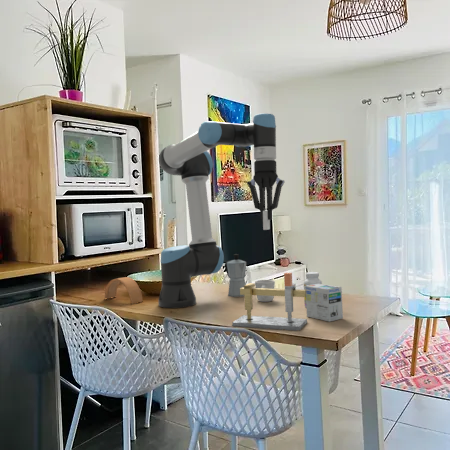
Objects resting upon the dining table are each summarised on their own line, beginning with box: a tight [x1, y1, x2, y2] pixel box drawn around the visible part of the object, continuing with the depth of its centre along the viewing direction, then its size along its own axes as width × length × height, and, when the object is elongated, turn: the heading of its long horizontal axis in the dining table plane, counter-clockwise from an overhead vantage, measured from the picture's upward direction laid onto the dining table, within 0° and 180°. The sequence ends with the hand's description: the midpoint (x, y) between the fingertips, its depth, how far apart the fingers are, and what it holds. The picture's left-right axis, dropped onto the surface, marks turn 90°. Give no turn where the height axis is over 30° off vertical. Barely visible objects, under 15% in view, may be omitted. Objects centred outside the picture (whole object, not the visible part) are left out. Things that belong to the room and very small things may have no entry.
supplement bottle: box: [303, 271, 323, 308], centre depth 170 cm, size 7×7×13 cm
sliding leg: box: [283, 272, 297, 321], centre depth 147 cm, size 2×6×15 cm, turn 157°
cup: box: [254, 279, 276, 303], centre depth 184 cm, size 11×8×8 cm
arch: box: [104, 276, 144, 305], centre depth 199 cm, size 6×20×10 cm, turn 48°
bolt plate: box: [231, 314, 308, 331], centre depth 148 cm, size 22×10×1 cm, turn 66°
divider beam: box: [240, 282, 307, 319], centre depth 149 cm, size 22×5×11 cm, turn 66°
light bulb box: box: [305, 283, 344, 322], centre depth 154 cm, size 11×7×11 cm, turn 35°
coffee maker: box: [224, 253, 247, 298], centre depth 201 cm, size 15×9×18 cm, turn 35°
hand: (266, 229), depth 157 cm, fingers closed
